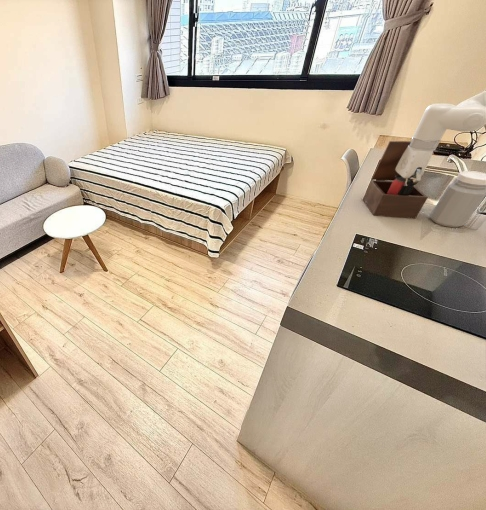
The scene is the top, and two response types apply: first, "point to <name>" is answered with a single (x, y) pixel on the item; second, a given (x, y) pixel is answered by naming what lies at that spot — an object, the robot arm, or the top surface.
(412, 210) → the storage box
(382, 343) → the top surface
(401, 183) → the beer can
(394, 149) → the box lid
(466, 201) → the jar
